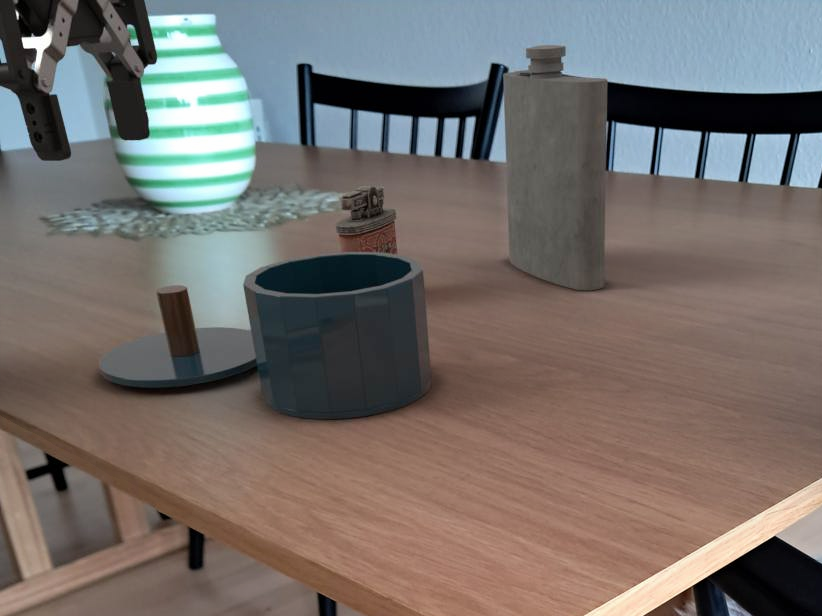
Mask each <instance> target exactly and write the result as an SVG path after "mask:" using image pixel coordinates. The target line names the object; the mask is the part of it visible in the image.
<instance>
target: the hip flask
mask: <svg viewBox="0 0 822 616" xmlns="http://www.w3.org/2000/svg"><path fill="white" fill-rule="evenodd" d="M566 47H567V46H565V45H556V44H555V45H554V44H544V45H543V44H542V45H537V46H531V47H526V48H525V59H528V60H529V61H530V64H529V65H527V67H528V69H523V70H514V71H511V72H504V73H503V74H502V75H503V76H502V78H503V105H504V106H503V109H504V110H503V111H504V136H505V138H504V139H505V165H506V166H505V167H506V168H505V169H506V170H505V171H506V196H507V197H506V198H507V200H506V201H507V222H508V223H507V227H508V228H507V229H508V257H509V260H508V261H509V263H510V264H511V265H513V266H514V267H516V268H517V269H518V270H521V271H523V272H524V273H526V274H529V275H531V276H532V277H536V278H538V279H540V280H543V281H546V282H548V283H551V284H555V285H558V286H561V287H564V288H568V289H571V290H572V289H573V290H575V291H576V290H577V291H583V292H584V291H585V292H586V291H597V290H600V289H603V288H604V287H605V253H606V252H605V250H606V195H607V194H606V191H607V190H606V188H607V186H606V184H607V134H608V133H607V129H608V124H607V123H608V79H607V78H604V77H603V78H601V77H582V76H569V75H563V72H562V71H564V62H562V58H564V57H566V56H567V55H566V53H567V52H566V50H567V49H566Z"/></svg>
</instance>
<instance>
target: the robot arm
mask: <svg viewBox="0 0 822 616" xmlns="http://www.w3.org/2000/svg"><path fill="white" fill-rule="evenodd" d="M129 25H130V26H132V27H133V28H134V31H135V36H136V39H137V44H135V45H134V44H133V45H132V42H131V32H130V31H129V29H128V26H129ZM32 35H33V36H32ZM0 41H1V45H2V49H3V53H4V57H5V61H6V62H2V59H1V58H0V87H1V88H4V89H7V90H10V91H11V92H12V93H13V94H14V95H16V97H17V99H18V101H19V105H20V108H21V112H22V115H23V119H24V122H25V123H24V124H25V126H26V130H27V133H28V138H29V141H30V145H31V146H32V148H33V150H34V152H35V153H36V155H37V157H38V158H39V159H40V160H41V161H43V162H61V161H65V160H69V159H70V158H71V156H72V149H71V146H70V142H69V138H68V134H67V129H66V125H65V122H64V117H63V114H62V109H61V105H60V102H59V98H58V97H59V96H58V94H54V93H52V91H53V87H54V83H55V78H56V71H57V66H58V63H59V62H60V61H61V60H63V59H64V57H65V56H66V52H67V48H68V47H69V48H70V47H77V46H80V48H81V49H82V50H83V51H84V52H85V53H87V54H89V55H91V56H92V57H93V58H94V59H95V61H96V62H97V64H98V65H99V67H100V68H101V69H102V71H103V72H104V74H105V75H106V76H107V77H108V78H109V79H110V80H107V81H106V85H107V90H108V95H109V99H110V103H111V104H110V105H111V108H112V112H113V113H112V114H113V117H114V121H115V126H116V130H117V135H118V136H119V138H120V139H121V140H123V141H144V140H148V138H149V137H150V135H151V132H150V122H149V121H150V119H149V116H148V110H147V106H146V101H145V95H144V91H143V85H142V80H141V78H143V76H144V74H145V69H146V68H147V67H148V66H151V65H156V64H157V62H158V54H157V48H156V44H155V40H154V36H153V30H152V27H151V22H150V19H149V14H148V10H147V6H146V2H145V0H0ZM114 54H115V55H114ZM33 64H34V68H33V69H32V66H33ZM50 93H52V94H50Z"/></svg>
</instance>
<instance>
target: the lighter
mask: <svg viewBox="0 0 822 616" xmlns="http://www.w3.org/2000/svg"><path fill="white" fill-rule="evenodd" d="M384 191H385V190H384V186H379V185H377V186H374V185H358V186H356V188H355V189H354V190H353V191H350V192H347V193H345V194H342V195H341V196H342V197H340V198H339V199H340V206H341V211H344V212H345V211H347V212H348V211H349V213H350V216H347V217H345V218H343V219H341V220H339V221H337V222H336V223H335V224H334V225H335V233H336V234H337V235H338V239H339V241H338V242H339V247H340V253H342V252H382V253H389V254H396V255H399V254H398V245H397V234H396V223H395V220H396V219H397V212H396V209H395V208H391V207H384V203H385V202H384V199H385V192H384Z"/></svg>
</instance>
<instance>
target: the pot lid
mask: <svg viewBox="0 0 822 616" xmlns="http://www.w3.org/2000/svg"><path fill="white" fill-rule="evenodd" d="M155 293H156V297H157V302H158V306H159V311H160V315H161V319H162V324H163V328H164V332H159V333H154V334H151V335H147V336H143V337H140V338H136V339H133V340H130V341H127V342H125V343H122V344H120V345H118V346H116V347H114V348H112V349H110V350H108V352H106V353H104V355H102V357H101V358H100V360H99V362H98V367H99V368H98V369H99V371H100V372H99V373H100V374H101V376H102V377H103V378H104V379H105V380H106V381H109V382H111V383H114V384H116V385H121V386H126V387H133V388H148V389H149V388H152V389H154V388H155V389H156V388H158V389H159V388H176V387H184V386H185V387H186V386H192V385H193V386H194V385H200V384H204V383H209V382H214V381H219V380H222V379H226V378H229V377H232V376H236V375H238V374H241V373H244V372H246V371H249V370H251V369H253V368H254V367H256V366H257V361H256V355H255V350H254V344H253V338H252V332H251V330H249V329H243V328H235V327H222V326H221V327H216V326H215V327H196V324H195V319H194V314H193V309H192V304H191V300H190V294H189V290H188V287H187V286H185V285H180V284H179V285H178V284H176V285H167V286H162V287H160V288H157V289H156V291H155Z"/></svg>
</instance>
